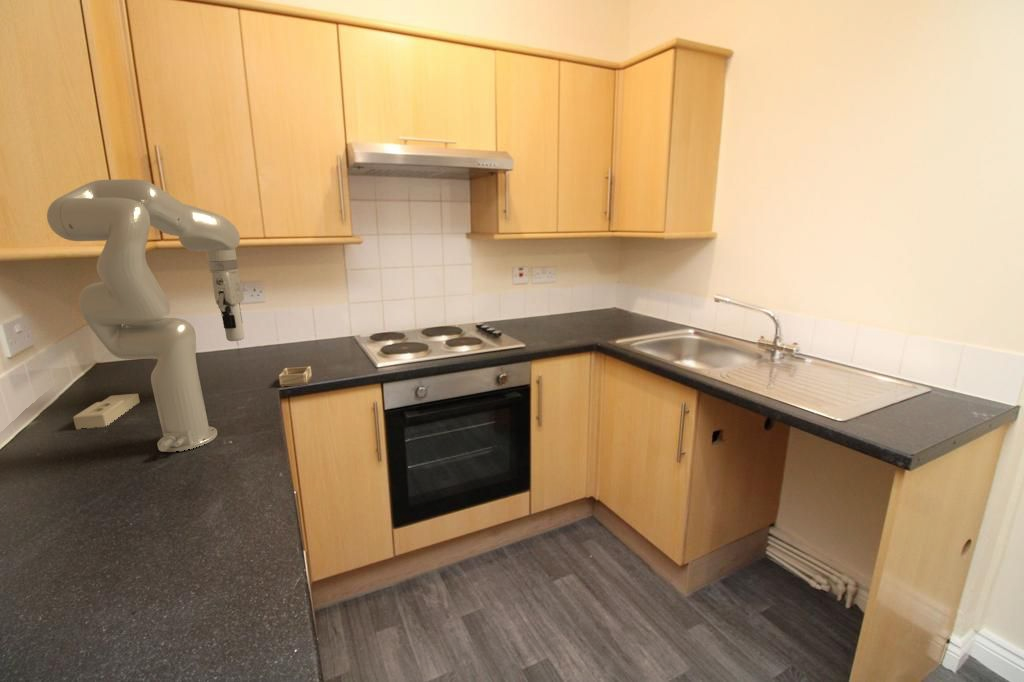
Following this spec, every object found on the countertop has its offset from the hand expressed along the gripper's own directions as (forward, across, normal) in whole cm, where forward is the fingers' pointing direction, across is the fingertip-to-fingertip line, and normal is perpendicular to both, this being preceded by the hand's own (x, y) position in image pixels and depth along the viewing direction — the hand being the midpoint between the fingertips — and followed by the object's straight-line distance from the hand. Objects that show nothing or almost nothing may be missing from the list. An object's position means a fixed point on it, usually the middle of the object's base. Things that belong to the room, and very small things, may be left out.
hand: (233, 325), depth 147 cm
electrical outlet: (+23, -9, +33) cm, 41 cm away
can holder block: (+22, +7, -14) cm, 27 cm away
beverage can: (+5, 0, 0) cm, 5 cm away
